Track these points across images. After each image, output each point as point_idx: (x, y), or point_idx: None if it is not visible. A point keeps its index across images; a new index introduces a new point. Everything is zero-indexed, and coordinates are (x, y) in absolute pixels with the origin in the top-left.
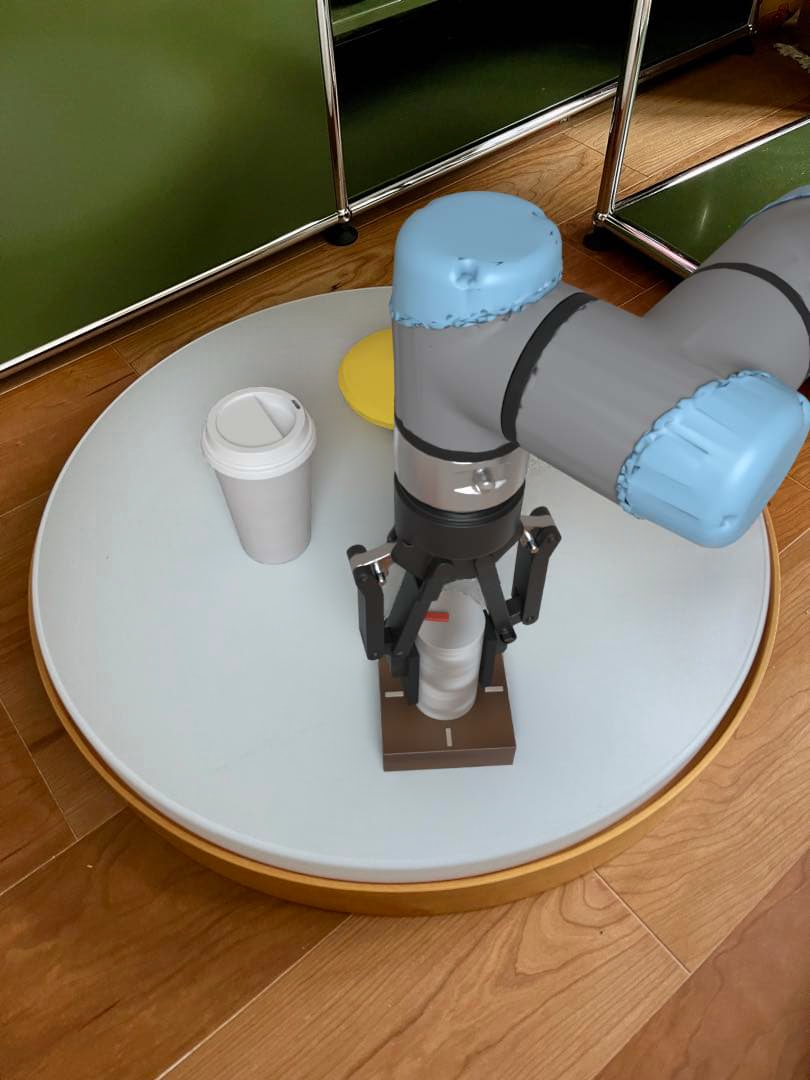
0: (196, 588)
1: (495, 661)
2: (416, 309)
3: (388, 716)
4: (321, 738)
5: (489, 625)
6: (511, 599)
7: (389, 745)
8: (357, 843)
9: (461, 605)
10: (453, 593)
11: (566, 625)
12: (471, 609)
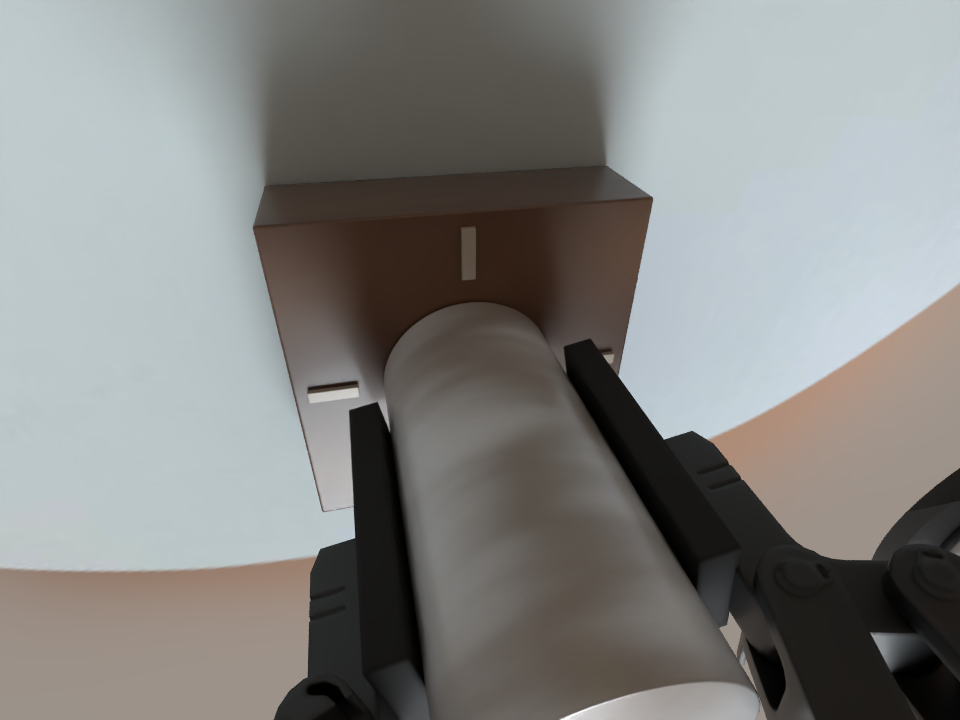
0: None
1: (616, 283)
2: None
3: (324, 443)
4: (157, 402)
5: (723, 595)
6: (897, 638)
7: (334, 496)
8: (291, 547)
9: (681, 718)
10: (668, 696)
11: (818, 62)
12: (715, 717)
